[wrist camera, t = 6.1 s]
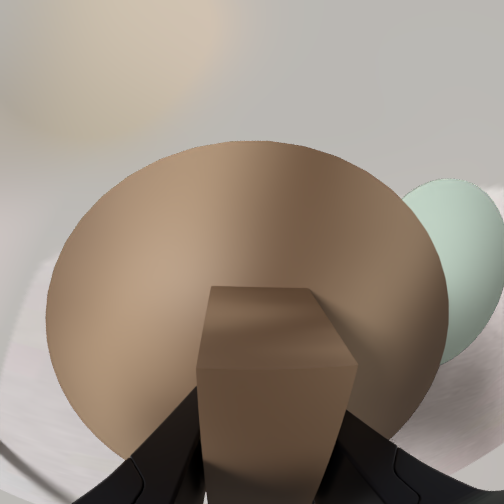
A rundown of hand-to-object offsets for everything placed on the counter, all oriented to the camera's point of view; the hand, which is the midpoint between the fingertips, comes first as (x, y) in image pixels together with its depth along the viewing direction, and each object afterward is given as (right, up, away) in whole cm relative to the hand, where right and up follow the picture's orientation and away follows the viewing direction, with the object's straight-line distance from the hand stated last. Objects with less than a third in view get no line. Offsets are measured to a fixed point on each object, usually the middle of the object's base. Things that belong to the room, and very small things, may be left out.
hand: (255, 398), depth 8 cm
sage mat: (+13, +2, +10) cm, 17 cm away
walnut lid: (0, 0, +1) cm, 1 cm away
